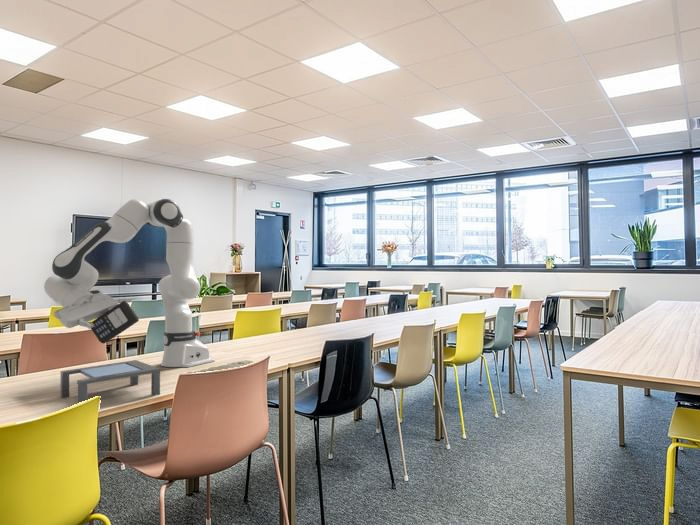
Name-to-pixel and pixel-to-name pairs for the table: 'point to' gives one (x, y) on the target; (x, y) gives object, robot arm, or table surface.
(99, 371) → the trapdoor
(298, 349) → the table surface
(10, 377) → the table surface
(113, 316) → the card reader
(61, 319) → the robot arm
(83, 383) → the stand
